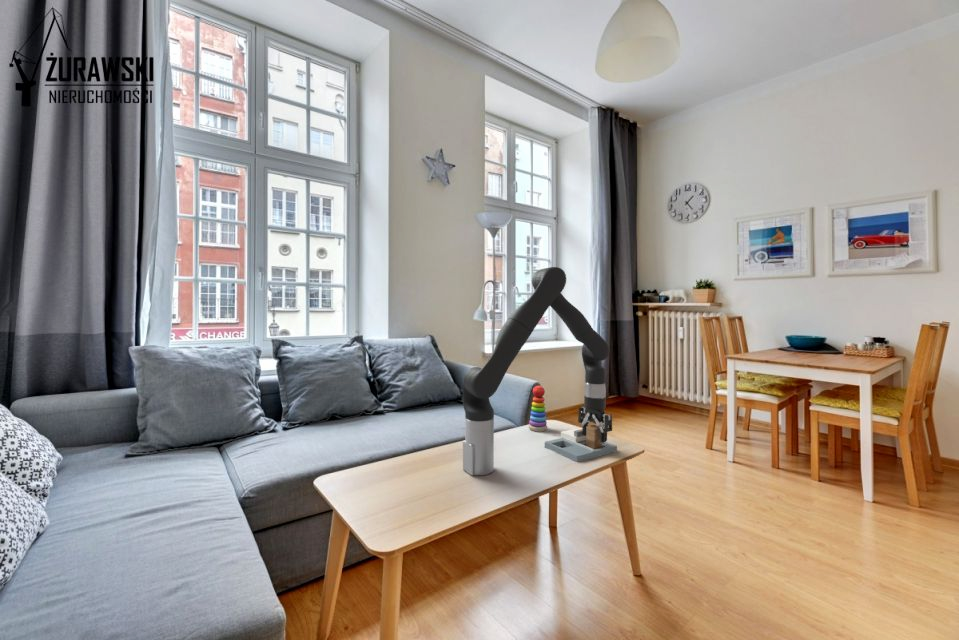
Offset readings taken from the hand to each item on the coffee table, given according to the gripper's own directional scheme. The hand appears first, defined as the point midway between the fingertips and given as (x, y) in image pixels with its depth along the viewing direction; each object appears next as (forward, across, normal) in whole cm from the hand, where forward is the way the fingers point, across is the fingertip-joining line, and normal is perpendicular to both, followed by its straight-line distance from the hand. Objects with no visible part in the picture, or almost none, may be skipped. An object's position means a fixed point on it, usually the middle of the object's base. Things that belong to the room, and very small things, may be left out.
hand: (594, 438), depth 151 cm
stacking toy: (+5, -31, -1) cm, 31 cm away
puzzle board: (+5, -4, -3) cm, 7 cm away
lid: (+2, -9, 0) cm, 10 cm away
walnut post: (+5, 0, 0) cm, 5 cm away
